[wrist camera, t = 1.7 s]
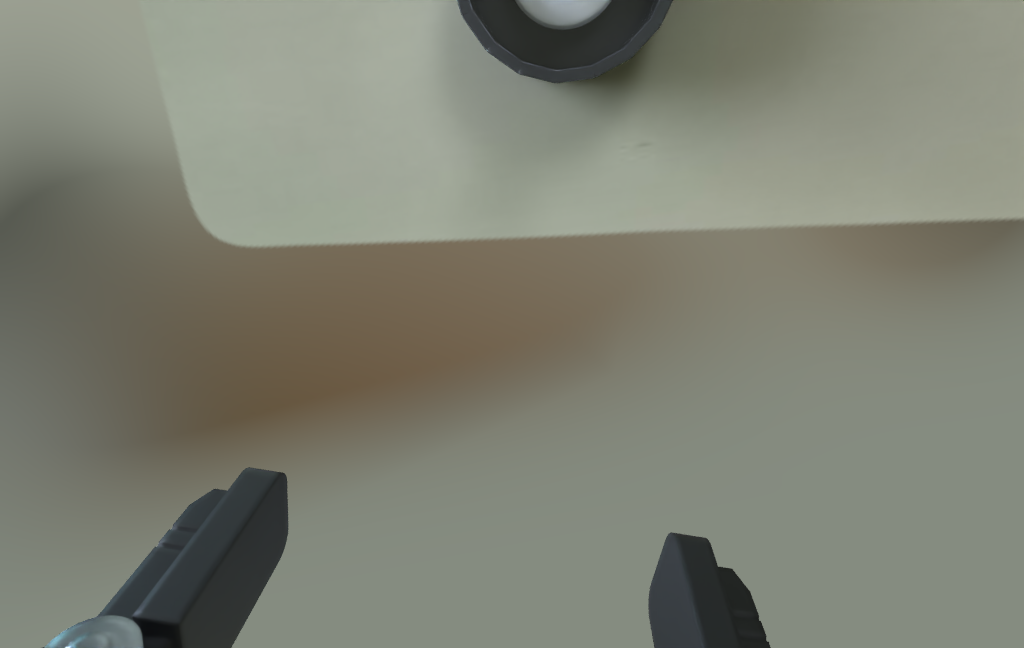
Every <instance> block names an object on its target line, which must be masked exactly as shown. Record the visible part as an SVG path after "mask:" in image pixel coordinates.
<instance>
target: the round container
mask: <svg viewBox="0 0 1024 648" xmlns="http://www.w3.org/2000/svg"><path fill="white" fill-rule="evenodd" d="M672 1H673V0H611V2H610V3H609V5H608V6H607V7H606V8H605V10H604V11H603V12H602V13H601V14H600V15H599V16H597V17H596V18H595V19H593V20H592V21H590V22H589V23H587V24H585V25H583V26H580V27H577V28H573V29H567V30H558V29H551V28H547V27H545V26H542V25H540V24H538V23H536V22H535V21H533V20H532V19H530V18H529V17H528V16H527V15H526V14H525V13H524V12H523V11H522V10H521V8H520V7H519V6H518V4H517V3H516V1H515V0H457V2H458V5H459V8H460V12H461V15H462V16H463V19H464V20H465V21H466V23H467V24H468V26H469V27H470V29H471V30H472V31H473V33H474V34H475V36H476V37H477V39H478V40H479V41H480V43H481V44H482V46H483V47H484V49H485V50H486V51H487V52H488V53H490V54H491V55H492V56H494V57H495V58H497V59H498V60H499V61H501V62H502V63H504V64H505V65H507V66H508V67H509V68H511V69H512V70H514V71H515V72H516V73H519V74H520V75H524V76H528V77H532V78H536V79H540V80H544V81H548V82H552V83H563V82H571V81H578V80H586V79H593V78H596V77H598V76H600V75H602V74H603V73H605V72H607V71H609V70H611V69H613V68H615V67H617V66H618V65H620V64H622V63H624V62H626V61H628V60H629V59H630V58H632V57H633V56H634V55H635V54H636V53H637V52H638V51H639V49H640V48H641V47H642V46H643V45H644V44H645V43H646V42H647V41H648V40H649V39H650V38H651V36H652V35H653V34H654V33H655V32H656V31H657V30H658V29H659V28H660V26H661V25H662V23H663V21H664V18H665V16H666V14H667V12H668V10H669V8H670V6H671V4H672Z"/></svg>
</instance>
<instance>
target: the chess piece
mask: <svg viewBox="0 0 1024 648" xmlns="http://www.w3.org/2000/svg"><path fill="white" fill-rule="evenodd" d="M515 1H516V3H517V4H518V6H519V7H520V8H521V10H522V11H523V12H524V13H525V14H526V15H527V16H528V17H529V18H530V19H532V20H533V21H535V22H536V23H538V24H540V25H542V26H545V27H547V28H551V29H558V30H567V29H573V28H577V27H580V26H583V25H585V24H587V23H589V22H590V21H592V20H593V19H595V18H596V17H597V16H599V15H600V14H601V13H602V12H603V11H604V10H605V8H606V7H607V6H608V5H609V3H610V2H611V0H515Z"/></svg>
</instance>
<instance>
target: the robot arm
mask: <svg viewBox="0 0 1024 648" xmlns="http://www.w3.org/2000/svg"><path fill="white" fill-rule="evenodd" d="M287 535H288V499H287V477H286V475H285V474H284V473H281V472H274V471H269V470H262V469H256V468H250V467H249V468H246V469H245V470H243V472H242V473H241V474H240V475H239V477H238V478H237V479H236V481H235V482H234V483H233V484H232V486H231V487H230V489H229V490H228V491H226V490H219V489H213V490H212V491H211V492H209V493H207V494H206V495H204V496H202V497H201V498H199V499H198V500H196V501H195V502H193V503H192V504H190V505H189V506H188V507H187V509H186V510H185V511H184V512H183V514H182V515H181V516H180V517H179V518H178V520H177V521H176V522H175V523H174V524H173V527H172V529H171V530H169V531H168V532H167V533H166V534H165V535H164V537H163V538H162V539H161V540H160V541H159V544H158V546H157V547H155V548H154V549H153V550H152V551H151V553H150V554H149V555H148V556H147V557H146V558H145V560H144V561H143V562H142V563H141V564H140V566H139V567H138V568H137V569H136V570H135V572H134V573H133V574H132V575H131V577H130V578H129V579H128V580H127V581H126V583H125V584H124V585H123V586H122V588H121V589H120V590H119V591H118V592H117V594H116V595H115V596H114V597H113V598H112V600H111V601H110V602H109V603H108V604H107V606H106V607H105V608H104V609H103V611H102V612H101V613H100V614H99V615H98V616H97V617H95V618H92V619H88V620H85V621H83V622H80V623H78V624H76V625H74V626H72V627H70V628H68V629H67V630H65V631H64V632H62V633H61V634H59V635H58V636H57V637H55V638H54V639H53V640H52V641H51V642H50V643H49V644H48V645H46V647H43V648H231V647H232V645H233V643H234V641H235V640H236V638H237V636H238V634H239V633H240V631H241V629H242V627H243V625H244V624H245V622H246V620H247V618H248V616H249V615H250V613H251V611H252V609H253V607H254V606H255V604H256V602H257V600H258V598H259V596H260V595H261V593H262V591H263V589H264V587H265V586H266V584H267V582H268V580H269V578H270V577H271V575H272V573H273V571H274V569H275V568H276V566H277V564H278V562H279V560H280V558H281V556H282V553H283V551H284V548H285V544H286V540H287ZM649 619H650V624H651V630H652V636H653V642H654V647H655V648H770V645H769V642H767V641H766V634H765V631H764V628H763V626H762V623H761V621H759V615H758V612H757V609H756V607H755V604H754V601H753V599H752V596H751V593H750V591H749V590H748V589H747V587H746V586H745V585H744V584H743V582H742V581H741V580H740V578H739V577H738V576H737V575H736V574H735V572H734V571H733V569H730V568H723V567H718V566H717V563H716V559H715V557H714V553H713V550H712V547H711V544H710V542H709V540H708V539H707V538H702V537H696V536H690V535H683V534H677V533H670V534H668V536H667V538H666V540H665V543H664V546H663V549H662V553H661V555H660V559H659V561H658V565H657V568H656V571H655V574H654V577H653V580H652V583H651V586H650V592H649Z"/></svg>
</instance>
